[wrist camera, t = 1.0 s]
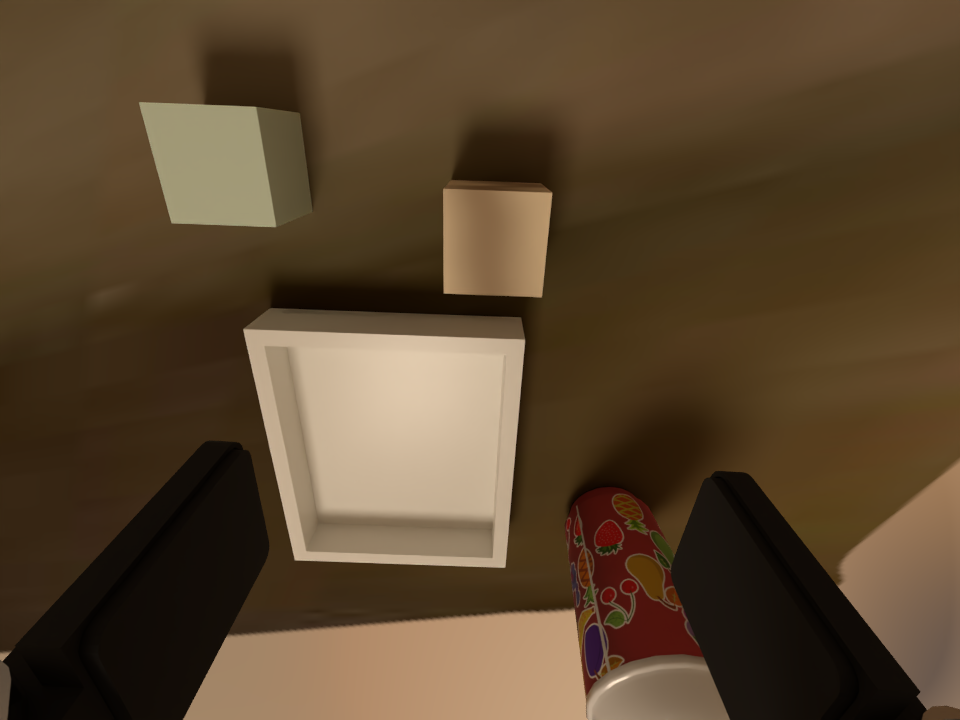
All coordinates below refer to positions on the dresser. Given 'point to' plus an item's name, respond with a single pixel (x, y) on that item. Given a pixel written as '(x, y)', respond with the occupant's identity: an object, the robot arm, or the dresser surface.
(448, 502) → the tray
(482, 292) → the maple block
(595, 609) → the smoothie
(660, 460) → the dresser surface
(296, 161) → the sage block
